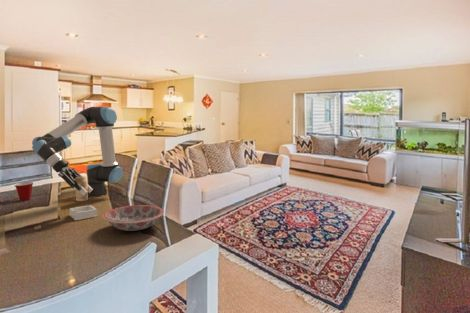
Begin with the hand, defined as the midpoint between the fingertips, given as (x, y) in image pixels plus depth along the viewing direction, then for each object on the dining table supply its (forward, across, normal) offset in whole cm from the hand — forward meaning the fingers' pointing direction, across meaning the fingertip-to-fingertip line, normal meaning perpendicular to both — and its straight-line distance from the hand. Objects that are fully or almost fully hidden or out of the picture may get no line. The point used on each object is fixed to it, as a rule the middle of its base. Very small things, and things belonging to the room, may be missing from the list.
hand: (88, 192), depth 163 cm
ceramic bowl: (+32, +18, +12) cm, 39 cm away
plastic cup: (-31, -34, -51) cm, 69 cm away
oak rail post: (+1, 0, -6) cm, 6 cm away
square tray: (+7, -1, -12) cm, 14 cm away
